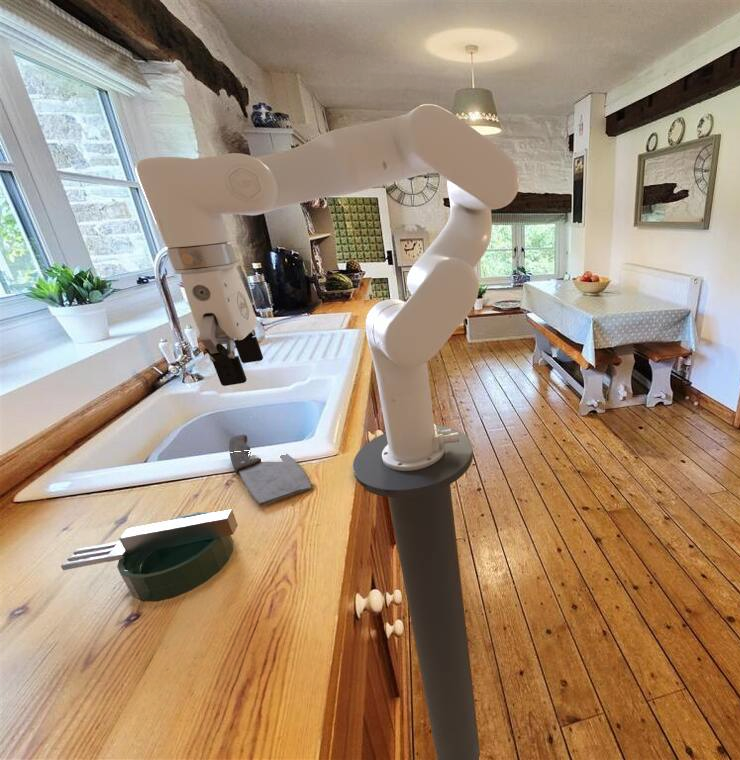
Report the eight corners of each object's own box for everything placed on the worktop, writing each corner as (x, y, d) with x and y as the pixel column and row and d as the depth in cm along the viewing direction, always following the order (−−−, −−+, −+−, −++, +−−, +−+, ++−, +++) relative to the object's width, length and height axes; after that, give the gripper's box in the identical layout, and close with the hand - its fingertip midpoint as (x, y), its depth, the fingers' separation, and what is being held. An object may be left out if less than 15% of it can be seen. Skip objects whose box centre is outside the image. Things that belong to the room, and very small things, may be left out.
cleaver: (219, 449, 90) (216, 441, 89) (267, 432, 96) (265, 424, 95) (261, 513, 71) (257, 503, 70) (317, 486, 77) (315, 477, 76)
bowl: (245, 529, 67) (236, 505, 65) (217, 592, 56) (205, 564, 54) (159, 546, 64) (147, 521, 62) (112, 615, 53) (95, 587, 51)
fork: (239, 522, 61) (233, 506, 60) (232, 537, 58) (225, 521, 57) (79, 553, 57) (69, 536, 55) (62, 571, 54) (51, 554, 53)
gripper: (212, 263, 50) (256, 389, 57) (250, 250, 65) (282, 350, 72) (140, 270, 48) (195, 399, 55) (197, 255, 64) (234, 357, 71)
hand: (244, 371), depth 64 cm, fingers open, 9 cm apart
